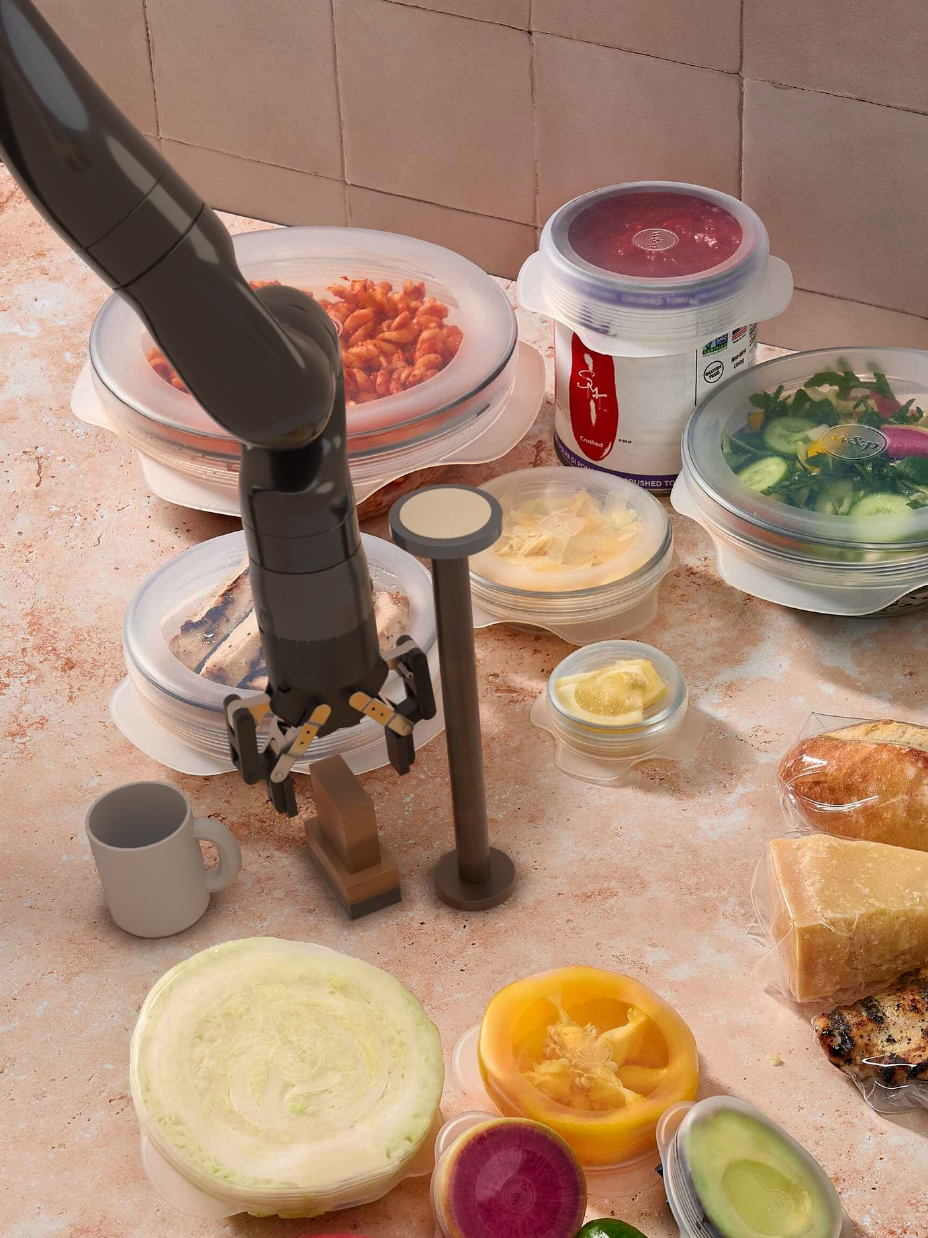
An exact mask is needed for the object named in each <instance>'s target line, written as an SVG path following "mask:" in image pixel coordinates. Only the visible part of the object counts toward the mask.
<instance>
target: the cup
mask: <svg viewBox="0 0 928 1238" xmlns="http://www.w3.org/2000/svg"><path fill="white" fill-rule="evenodd" d="M84 829H85V831H86V836H87V839H88V843H89V847H90V850H91V853H92V857H93V860H94V863H95V867H96V870H97V873H98V877H99V880H100V884H101V886H102V890H103V894H104V897H105V901H106V904H107V908H108V910H109V913H110V915H111V917H112V919H113V921H114V923H115V924H116V925H117V926H118V927H119V928H120V929H121V930H123V931H126V932H127V933H129V934H131V935H133V936H137V937H140V938H145V939H147V938H148V939H151V938H152V939H159V938H166V937H170V936H173V935H177V934H179V933H181V932H184V931H185V930H187V929H189V928H191V927H192V926H193V925H194V924H195V923H196V922H197V921H199V920H200V919H201V918H202V916H203V915H204V914H205V912H206V910H207V908H208V907H209V904H210V900H211V893H215V892H220V891H223V890H225V889H227V888H228V887H230V886H231V885H232V884H233V883H234V882H235V881H236V880H237V879H238V877H239V874H240V873H241V870H242V866H243V865H242V864H243V855H242V850H241V846H240V844H239V842H238V840H237V838H236V836H235V835H234V833H233V832H232V831H231V829H230V828H228V826H227V825H225V824H224V823H223V822H221V821H219V820H217V819H214V818H209V817H203V816H202V817H194V813H193V808H192V803H191V800H190V799H189V797H188V795H187V794H186V793H185V792H184V791H183V790H181V789H180V788H179V787H177V786H175V785H173V784H170V783H169V782H163V781H159V780H141V781H134V782H129V783H125V784H122V785H118V786H115V787H114V788H112V789H110V790H108V791H107V792H105V793H103V794H102V795H101V796H100V797H98V798H97V799H96V800H95V801H94V802H93V803H92V804H91V806H89V808H88V810H87V812H86V815H85V818H84ZM201 841H204V842H209V843H210V844H212V845H213V846H214V847H215V848H216V850H217V855H218V867H215V868H214V869H213V868H212V869H206V868H207V867H206V863H205V860H204V859H205V858H204V856H203V855H204V854H203V851H202V846H201Z"/></svg>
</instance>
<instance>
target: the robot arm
mask: <svg viewBox="0 0 928 1238" xmlns="http://www.w3.org/2000/svg"><path fill="white" fill-rule="evenodd" d="M0 159H1V161H2V163H3V165H4V167H5V168H6V169H7V171H8V173H9V174H10V176H11V177H12V179H13V180H14V182H15V183H16V184H17V186H18V187H19V188H20V190H21V192H22V193H23V195H24V196H25V198H26V199H27V200H28V202H30V204H31V205H32V207H33V208H34V209H35V210H36V211H37V213H38V214H39V216H41V218H42V219H43V220H44V222H45V223H46V224H47V225H48V226H49V227H50V228H51V229H52V230H53V231H54V233H55V234H56V235H57V236H58V237H59V238H60V239H61V240H62V241H63V242H64V243H65V244H66V245H67V246H68V247H69V249H71V250H72V251H73V253H75V254H76V255H77V257H79V258H80V260H82V261H83V262H84V263H85V264H86V265H87V267H88V268H89V269H90V270H92V271H93V272H94V273H95V275H96V276H97V277H99V279H101V280H102V282H104V283H105V284H106V286H108V288H110V289H112V292H114V293H115V294H116V296H118V297H119V298H120V299H121V300H122V301H123V302H125V304H127V306H129V307H130V308H131V310H132V311H133V312H134V313H135V314H136V315H137V317H138V319H139V320H140V322H142V324H143V326H144V328H145V329H146V331H147V333H148V334H149V336H150V337H151V339H152V340H153V342H154V344H155V345H156V347H157V348H158V350H159V352H160V353H161V354H162V356H163V357H164V358H165V360H166V361H167V363H168V364H169V366H170V367H171V369H172V370H173V371H174V373H175V374H176V376H177V378H179V380H180V382H181V384H183V385H184V387H185V388H186V390H187V391H188V393H189V394H190V396H191V397H192V398H193V399H194V401H195V402H196V403H197V404H198V406H199V407H200V408H201V409H202V411H203V412H204V413H205V414H206V415H207V417H209V418H210V419H211V420H212V422H214V423H215V424H216V425H217V426H218V427H220V429H222V430H223V431H224V432H226V433H227V434H228V435H229V436H231V437H233V438H234V439H235V440H237V441H239V443H240V462H239V468H238V477H237V496H238V504H239V511H240V517H241V518H240V519H241V524H242V528H243V532H244V533H243V534H244V539H245V544H246V550H247V556H248V578H249V586H250V591H251V597H252V603H253V607H254V611H255V617H256V623H257V626H258V633H259V639H260V643H261V649H262V653H263V658H264V660H263V661H264V665H265V669H266V673H267V683H266V687H265V689H264V692H263V693H261V694H258V695H257V694H256V695H254V696H251V697H247V698H243V699H242V698H241V696H240V695H239V694H237V693H230V694H228V695H227V696H225V697H224V699H223V702H222V705H223V711H224V712H223V713H224V720H225V727H226V733H227V740H228V741H227V742H228V747H229V755H230V761H231V764H232V765H233V767H234V768H236V770H237V772H238V773H239V775H240V776H241V779H242V780H243V782H244V783H245V784H246V785H249V786H252V785H256V784H258V783H259V782H260V781H261V780H264V784H265V789H266V793H267V798H268V800H269V802H270V803H271V804H272V807H273V808H274V810H275V811H276V812H277V813H278V814H279V815H283V814H284V815H285V816H286V818H287V819H289V820H290V819H292V818H295V817H297V816H299V809H298V805H297V799H296V794H295V793H296V792H295V789H294V784H293V778H292V776H291V775H290V772H291V770H292V768H293V766H294V765H295V763H296V761H297V759H298V758H303V757H304V756H305V754H306V752H307V751H308V749H309V748H310V746H311V744H312V742H313V740H314V739H315V737H317V739H318V740H319V739H322V738H325V737H327V736H330V735H331V734H333V733H335V732H336V731H338V730H340V729H347V728H348V729H349V728H352V727H355V726H358V725H360V724H361V720H362V719H363V718H365V717H366V716H368V717H369V718H371V720H373V721H375V722H377V723H379V724H380V725H382V726H383V729H384V736H385V744H386V750H387V759H388V761H389V764H390V765H391V767H392V768H393V769H394V771H395V772H396V774H397V775H398V776H399V777H403V776H405V775H408V774H410V773H411V767H410V766H412V765H414V764H415V761H416V750H415V742H414V741H415V740H414V733H413V732H414V731H415V730H414V729H415V726H416V725H417V724H418V723H419V722H421V721H422V720H424V721H431V720H432V719H433V718H435V717H436V715H437V711H438V710H437V705H436V699H435V694H434V687H433V684H432V678H431V672H430V666H429V660H428V656H427V654H426V653H425V652H424V651H423V650H422V648H421V647H420V646H419V644H417V642H416V641H415V640H414V638H412V636H411V635H409V634H403V635H402V634H401V635H400V636H399V637H398V638H397V639H396V641H395V647H393V648H391V649H388V650H386V651H383V652H381V648H380V641H379V634H378V626H377V618H376V612H375V603H374V596H373V595H374V583H373V579H372V577H371V575H370V568H369V563H368V557H367V556H366V555H367V554H366V553H365V549H364V545H363V541H362V538H361V530H360V523H359V515H358V509H357V500H356V495H355V488H354V484H353V480H352V475H351V470H350V463H349V457H348V438H347V436H348V435H347V434H348V431H347V429H348V428H347V402H346V383H345V367H344V358H343V350H342V344H341V340H340V336H339V333H338V330H337V328H336V326H335V324H334V321H333V320H332V318H331V316H330V315H329V313H328V312H327V311H326V310H325V308H324V307H323V306H322V305H321V304H320V303H319V302H318V301H317V300H316V299H315V298H313V296H311V295H309V294H308V293H306V292H304V291H302V290H301V289H298V288H296V287H293V286H289V285H285V284H266V285H261V286H259V287H256V288H254V289H253V288H252V286H251V285H250V284H249V283H248V281H247V280H246V278H245V277H244V274H242V271H241V270H240V267H239V265H238V261H237V258H236V251H235V246H234V245H235V244H234V241H233V237H232V235H231V234H230V231H229V229H228V228H227V227H226V225H225V224H224V222H223V221H222V219H221V218H220V217H219V216H218V214H217V213H216V212H215V210H214V209H213V208H212V207H211V206H210V205H209V204H208V202H207V201H206V200H204V199H203V197H202V196H201V195H200V193H199V192H197V190H196V189H195V188H194V187H193V186H192V185H191V183H189V182H188V181H187V180H186V179H185V177H183V175H182V174H181V173H180V172H179V171H178V170H177V168H175V166H174V165H173V164H172V163H171V162H170V161H169V160H168V159H167V158H166V156H165V155H164V154H163V153H162V152H161V151H160V150H159V149H158V148H157V147H156V145H154V143H152V141H151V140H150V139H149V138H148V136H146V134H144V133H143V132H142V131H141V129H140V128H138V126H137V125H136V124H135V123H134V122H133V120H132V119H130V117H129V116H128V115H127V114H126V113H125V112H124V110H123V109H122V108H121V107H120V106H119V105H118V104H117V102H115V100H114V99H113V98H112V97H111V95H110V94H108V93H107V91H106V90H105V89H104V88H103V87H102V86H101V84H100V83H99V82H98V80H96V79H95V77H94V76H93V75H92V74H91V73H90V72H89V70H88V69H87V67H85V65H84V64H83V63H82V62H81V61H80V59H79V58H78V57H77V56H76V55H75V53H74V52H73V51H72V49H71V48H70V47H69V46H68V45H67V44H66V42H65V41H64V40H63V39H62V37H61V36H60V34H59V33H58V32H57V31H56V30H55V28H54V27H53V26H52V24H50V22H49V21H48V19H46V17H45V16H44V14H43V13H42V12H41V10H40V9H39V8H38V7H37V5H36V4H35V3H34V1H33V0H0ZM390 671H394V672H395V673H396V674H397V675H398V676H399V678H402V682H403V687H404V688H403V689H404V693H405V699H403V700H402V701H400V702H399V703H397V702H395V701H394V700H393V699H391V698H390V697H388V696H387V695H385V694H384V693H383V692H382V691H381V690H382V688H383V686H384V684H385V683H386V681H387V679H388V677H389V673H390ZM271 712H272V714H273V715H274V716H273V717H272V719H271V720H270V723H269V725H268V736H267V738H266V739H265V741H264V743H263V745H262V746H261V748H260V750H259V747H258V739H257V733H260V732H261V731H262V730H263V728H262V726H263V723H264V719H265V717H266V715H267V714H269V713H271ZM292 727H293V728H294V729H295V731H293V729H292Z"/></svg>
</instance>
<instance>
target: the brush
mask: <svg viewBox="0 0 928 1238" xmlns="http://www.w3.org/2000/svg"><path fill="white" fill-rule="evenodd" d="M308 771H309V776H310V781H311V788H312V794H313V800H314V806H315V812H316V815H315V816H312V817H309V818H308V819H305V820H303V822H302V823H303V829H304V834H305V839H306V845H307V851H308V856H309V857H310V859H311V860H312V862H313V864H314V865H315V867H316V868H317V869H318V871H319V873H320V874H321V875H322V877H323V878H324V880H325V882H326V883H327V885H328V886H329V888H330V890H331V891H332V892H333V894H334V895H335V897H336V898H337V900H338V901H339V904H340V905H341V906H342V908H343V909H344V911H345V912H346V914H347V915H348V917H349V919H350V920H351V921H354V920H357V919H360V918H362V917H366V916H367V915H369V914H372V913H375V912H377V911H380V910H383V909H384V908H385V909H386V908H388V907H390V906H392V905H395V904H397V903H400V902H402V901H403V898H402V897H403V896H402V890H401V889H402V888H401V882H400V875H399V874H400V873H399V867H398V865H397V864H396V862H395V861H394V859H393V858H392V857H391V855H390V854H389V853H388V851H387V849H386V848H385V846H384V845H383V844H382V843H381V841H380V838H379V834H378V833H379V832H378V825H377V817H376V810H375V803H374V800H373V799H372V797H371V796H370V794H369V793H368V792H367V790H366V789H365V787H364V786H363V785H362V783H361V782H360V780H359V779H358V778H357V776H356V775H355V773H354V772H353V770H351V768H350V766H349V765H348V764H347V763H346V761H345V759H344V758H343V757H342V756H341V754H340V753H336V754H334V755H331V756H328V757H325V758H321V759H320V760H317V761H313V762H311V763H308Z"/></svg>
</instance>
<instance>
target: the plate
mask: <svg viewBox="0 0 928 1238" xmlns="http://www.w3.org/2000/svg"><path fill="white" fill-rule="evenodd" d="M502 507H503V506H502V505H501V504H500V501H499V500H498V499H497V498H496V497H495V496H493V495H492V494H491V493H489V492H487V491H485V490H483V489H480V488H478V487H475V486H472V485H466V484H457V483H443V484H441V483H440V484H433V485H428V486H424V487H420V488H417V489H414V490H412V491H410V492H408V493H406V494H404V495H402V496H401V497H400V498H399V499H397V500H396V501H395V502H394V503H393V504H392V506H391V508H390V509H389V511H388V518H387V519H388V529H389V535H390V537H391V540H392V541H393V543H394V544H395V545H396V546H397V547H398V548H399V549H401V550H402V551H404V552H406V553H408V554H411V555H413V556H416V557H419V558H424V559H428V560H430V559H442V560H443V559H457V558H463V557H467V556H468V557H470V556H473V555H476V554H479V553H482V552H484V551H486V550H487V549H489V548H490V547H492V546H493V545H494V544H495V543H496V542H497V541H498V540H499V539H500V538H501V536H502V533H503V530H504V511H503V508H502Z"/></svg>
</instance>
